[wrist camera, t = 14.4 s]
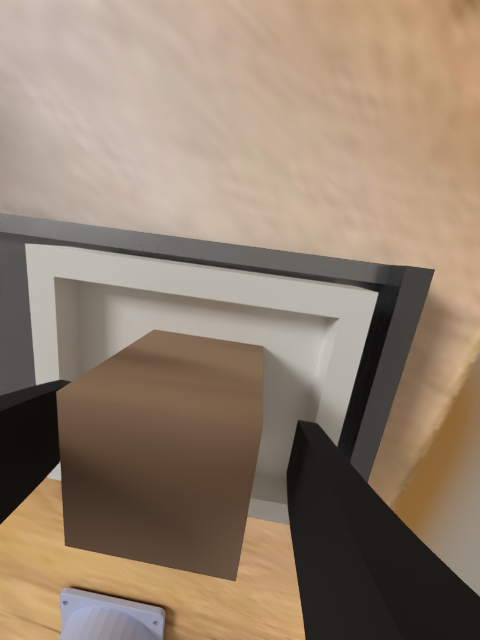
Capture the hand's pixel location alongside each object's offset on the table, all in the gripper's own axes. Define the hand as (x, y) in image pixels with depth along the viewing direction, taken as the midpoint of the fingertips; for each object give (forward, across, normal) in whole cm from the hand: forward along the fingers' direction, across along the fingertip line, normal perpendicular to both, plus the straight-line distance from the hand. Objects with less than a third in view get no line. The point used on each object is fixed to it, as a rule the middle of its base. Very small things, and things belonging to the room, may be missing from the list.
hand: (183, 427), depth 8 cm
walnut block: (+3, 0, 0) cm, 3 cm away
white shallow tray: (+6, 0, 0) cm, 6 cm away
